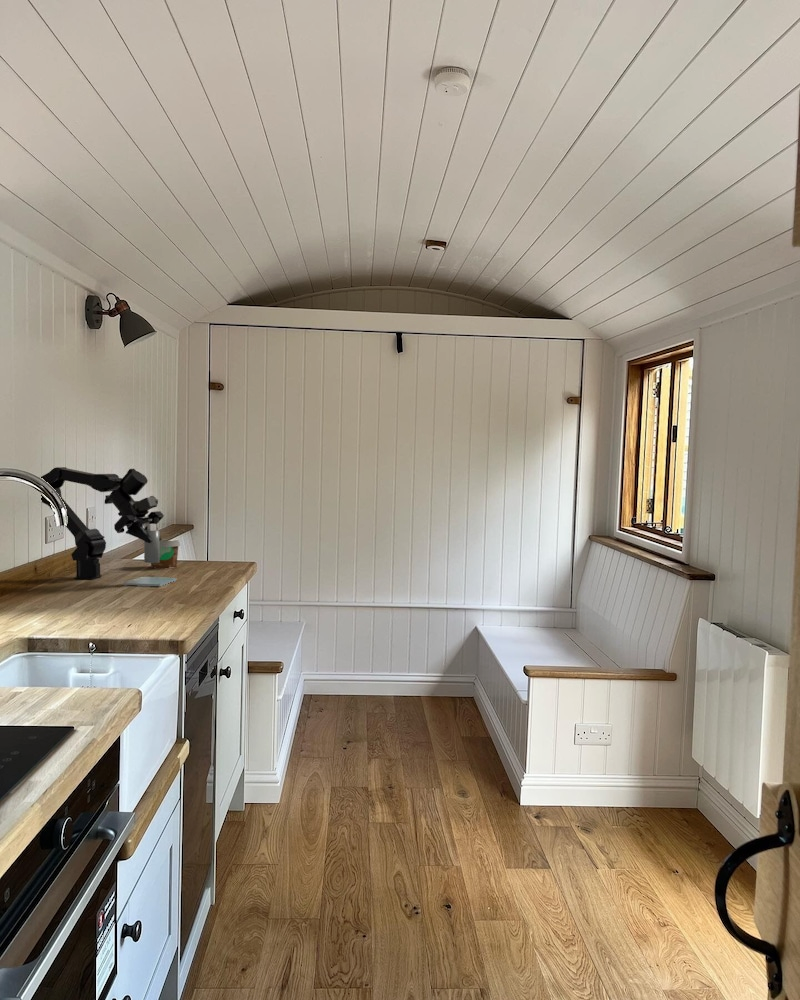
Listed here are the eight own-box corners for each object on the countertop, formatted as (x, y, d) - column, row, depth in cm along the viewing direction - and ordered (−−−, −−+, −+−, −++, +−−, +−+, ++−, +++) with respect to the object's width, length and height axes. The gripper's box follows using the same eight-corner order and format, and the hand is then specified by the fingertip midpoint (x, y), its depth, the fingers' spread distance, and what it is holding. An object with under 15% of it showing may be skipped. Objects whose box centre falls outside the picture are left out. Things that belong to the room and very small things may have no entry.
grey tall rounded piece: (141, 561, 245) (141, 524, 244) (152, 560, 249) (152, 523, 248) (151, 563, 243) (151, 525, 242) (162, 561, 247) (162, 524, 246)
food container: (140, 568, 275) (139, 540, 275) (150, 565, 281) (150, 538, 280) (170, 570, 272) (170, 541, 271) (180, 567, 278) (180, 540, 277)
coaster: (123, 585, 241) (123, 582, 241) (142, 579, 253) (142, 576, 253) (159, 586, 239) (159, 584, 239) (176, 580, 251) (176, 578, 251)
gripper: (122, 489, 237) (153, 527, 234) (158, 486, 254) (187, 521, 252) (100, 513, 240) (130, 551, 237) (138, 509, 257) (167, 544, 255)
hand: (155, 541), depth 245 cm, fingers closed on grey tall rounded piece, 5 cm apart
